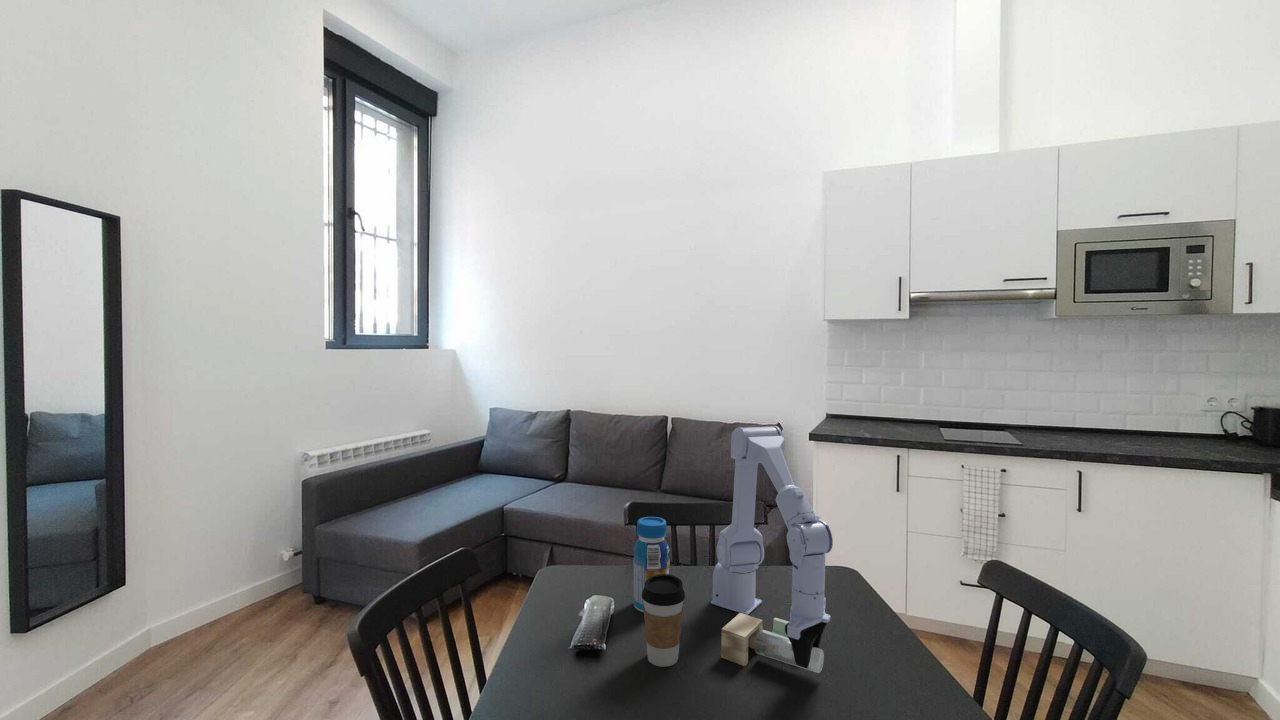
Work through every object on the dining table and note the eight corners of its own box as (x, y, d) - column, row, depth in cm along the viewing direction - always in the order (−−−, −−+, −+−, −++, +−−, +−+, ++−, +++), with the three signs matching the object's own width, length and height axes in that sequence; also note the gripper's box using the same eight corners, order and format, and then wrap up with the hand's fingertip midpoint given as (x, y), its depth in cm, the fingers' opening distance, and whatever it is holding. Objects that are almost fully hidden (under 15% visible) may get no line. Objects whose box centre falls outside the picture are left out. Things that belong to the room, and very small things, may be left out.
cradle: (760, 646, 115) (761, 631, 115) (775, 631, 121) (775, 617, 121) (804, 661, 110) (804, 646, 110) (817, 645, 116) (817, 630, 116)
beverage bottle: (625, 608, 131) (626, 522, 130) (645, 594, 138) (646, 512, 137) (657, 618, 126) (657, 529, 125) (676, 603, 133) (676, 519, 132)
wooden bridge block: (721, 657, 111) (721, 628, 111) (739, 639, 118) (740, 612, 117) (744, 666, 108) (745, 637, 108) (762, 647, 115) (762, 620, 114)
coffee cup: (689, 650, 113) (689, 576, 113) (678, 674, 106) (678, 595, 105) (649, 643, 116) (649, 570, 116) (635, 665, 108) (635, 588, 108)
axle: (754, 657, 109) (754, 636, 109) (763, 648, 112) (762, 628, 112) (816, 677, 102) (816, 655, 102) (824, 667, 105) (823, 645, 105)
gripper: (816, 609, 96) (814, 687, 97) (842, 579, 108) (840, 649, 109) (776, 597, 100) (775, 672, 101) (805, 570, 112) (804, 637, 113)
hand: (806, 659), depth 105 cm, fingers closed on axle, 4 cm apart
